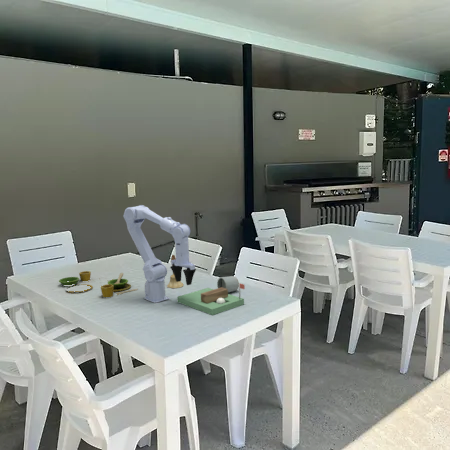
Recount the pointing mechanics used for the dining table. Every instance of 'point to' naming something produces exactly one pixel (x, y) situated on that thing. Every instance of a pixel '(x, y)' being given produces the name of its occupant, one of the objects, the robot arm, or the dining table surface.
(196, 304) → the putting deck
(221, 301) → the golf ball
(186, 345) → the dining table surface
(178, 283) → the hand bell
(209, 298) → the block
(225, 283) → the ceramic mug
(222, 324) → the dining table surface
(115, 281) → the tableware set
